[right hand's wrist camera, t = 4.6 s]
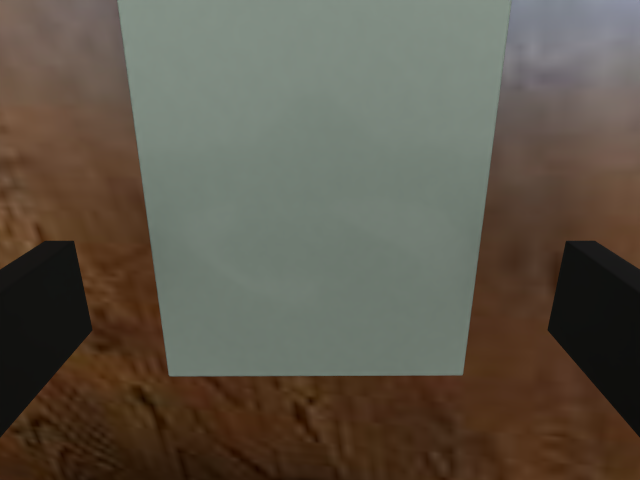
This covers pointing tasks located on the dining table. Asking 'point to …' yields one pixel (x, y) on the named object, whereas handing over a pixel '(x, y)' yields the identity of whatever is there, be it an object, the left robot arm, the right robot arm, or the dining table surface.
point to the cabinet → (315, 178)
